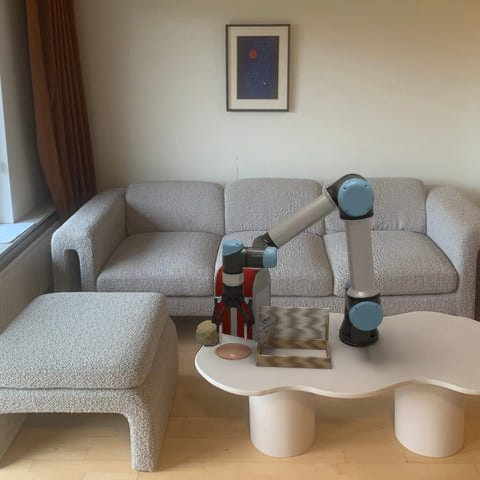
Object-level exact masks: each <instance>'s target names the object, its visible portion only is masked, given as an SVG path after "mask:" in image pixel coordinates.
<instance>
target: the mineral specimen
mask: <svg viewBox="0 0 480 480" xmlns="http://www.w3.org/2000/svg"><path fill="white" fill-rule="evenodd" d="M276 324H277V319H274V318H271V317H267V318H266V319H263V321H262V324H261V326H260V327H259V328H257V329H256V330H254V332H253V335H254V336H253V337H257V339H256V340H254V343H255V344H256V343H258V342H260V345H261V348H260V349H261V350H262V349H263V348H262V347H264V346H265V344H266V342H267V341H268V339H269V337H270V335H271V334H272V332H273V330H274V329H275V326H276ZM253 337H252V338H253Z"/></svg>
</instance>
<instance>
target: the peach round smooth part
mask: <svg viewBox="0 0 480 480" xmlns="http://www.w3.org/2000/svg"><path fill="white" fill-rule="evenodd" d="M215 354H216V356H217V357H219V358H221V359H225V360H230V361H232V360H234V361H236V360H242V359H243V360H244V359H246V358H248V357H249V356H250V355H251V354H252V349H251V348H250V346H248V345H246V344H245V343H244V344H243V343H238V342H236V343H235V342H229V343H225V344H222V345H219V346H217V347H216V349H215Z"/></svg>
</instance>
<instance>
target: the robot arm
mask: <svg viewBox="0 0 480 480" xmlns="http://www.w3.org/2000/svg"><path fill="white" fill-rule="evenodd" d="M374 203H375V193H374V190H373V188H372V186H371V184H369V182H368V181H367V180H366V178H365V177H364V176H362V175H361V174H358V173H346V174H345V175H343V176H341V177H340V178H339V179H337V180H336V181H335V182H333V183H331V184H330V185H329V186H328V187H326V188H324V192H323V193H322V194H321V195H319V196H318V197H316V198H315V199H313V200H312V201H310V202H308V204H306V205H304V206H303V207H302V208H300V209H299V210H297V211H296V212H294V213H293V214H292V215H290V216H289V217H287V218H286V219H284V220H282V221H281V222H280V223H277V225H275V226H274V227H272V228H271V229H270V230H268V231H266V232H265V233H263V234H259V235H257V236H256V237H255V238H254V239H253V241H252V244H251V246H245V244H244V241H242V240H240V239H228V240H225V241H224V242H223V243H222V253H221V254H222V255H221V256H222V257H221V258H222V265H221V266H223V271H222V274H223V295H222V297H217V296H215V298H214V297H213V302H214V303H215V306H214V305H213V306H214V307H213V311H212V317H211V323H212V324H216V331H217V333H219V335H220V340H219V343H222V342H223V334H222V323H220V322H221V320H222V318H223V316H224V314H225V312H226V310H227V308H228V307H229V308H238V310H239V311H240V313H241V315H242V317H243V319H244V321H245V323H246V324H245V326H244V338H243V339H244V341H243V342H244V344H247V342H248V339H247V334H249V333H250V325H254V324H255V318H254V313H253V308H252V297H249V298H247V297H245V296H244V284H243V281H244V272H243V271H244V270H243V268H266V269H275V268H277V265H278V250H279V249H280V248H281V247H283V246H285V245H286V244H288V243H289V242H290V241H292V240H294V239H295V238H298V236H299V235H301V234H303V233H305V232H306V231H308V230H309V229H310V228H312V227H313V226H315V225H317V224H319V222H320V221H322V220H323V219H326V218H327V217H328V216H330V215H331V214H333V213H334V212H335V211H338V212H339V213H338V215H339V220H340V221H342V222H343V223H344V229H345V231H344V232H345V240H346V241H345V242H346V243H345V244H346V250H347V251H346V252H347V254H346V255H347V263H348V274H349V279H348V280H346V283H345V286H344V289H345V292H344V309H343V310H344V312H343V313H344V315H343V319H342V321H341V325H340V327H339V329H338V339H339V340H340V341H341V342H343V343H345V344H349V345H353V346H360V347H361V346H363V347H364V346H370V345H374V344H376V343H378V341H379V338H380V335H379V334H380V333H379V330H378V327H379V326H380V325H381V324H382V322H383V320H384V310H383V308H382V301H381V299H382V298H381V289H380V288H379V287H378V284H377V282H376V281H375V280H376V279H375V271H374V270H375V269H374V268H375V267H374V255H373V246H372V245H373V244H372V242H373V241H372V233H371V230H372V229H371V220H372V219H373V217H375V214H374ZM221 300H222V301H223V302H224V304H225V306H224V308H223V310H222V312H221V314H220V316H219V318H218V320H216V314H217V309H218V304H219V303H220V301H221ZM243 301H246V303H247V304H248V310H249V314H250V319H251V320H250V321H249V319H248V316H247V314H246V312H245V310H244V308H243V306H242V303H243ZM214 303H213V304H214Z"/></svg>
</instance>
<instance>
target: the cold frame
mask: <svg viewBox="0 0 480 480" xmlns="http://www.w3.org/2000/svg"><path fill="white" fill-rule="evenodd" d="M330 310H331V309H330V307H304V306H303V307H299V306H272V305H271V306H259V327H260V326H261V324H262V321H263V319H266V318H267V317H271V318H274V319H277V324H276V326H275V329H274V330H273V332H272V334H271V335H270V337H269V339H268V341H267V342H266V344H265V346H264V347H262V348H261V345H260V342H257V346H256V354H255V356H256V358H255V367H267V368H268V367H270V368H273V367H274V368H275V367H276V368H297V369H299V368H300V369H302V368H303V369H326V370H327V369H329V370H330V369H331V367H332V366H331V365H332V364H331V363H332V357H331V356H332V355H331V349H330V348H331V347H330V341H329V337H330V335H329V334H330V331H329V330H330ZM260 348H261V349H260ZM262 349H281V350H282V349H287V350H311V351H312V350H313V351H315V350H316V351H325V356H309V355H285V354H284V355H283V354H281V355H278V354H276V355H275V354H261V351H262Z"/></svg>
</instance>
